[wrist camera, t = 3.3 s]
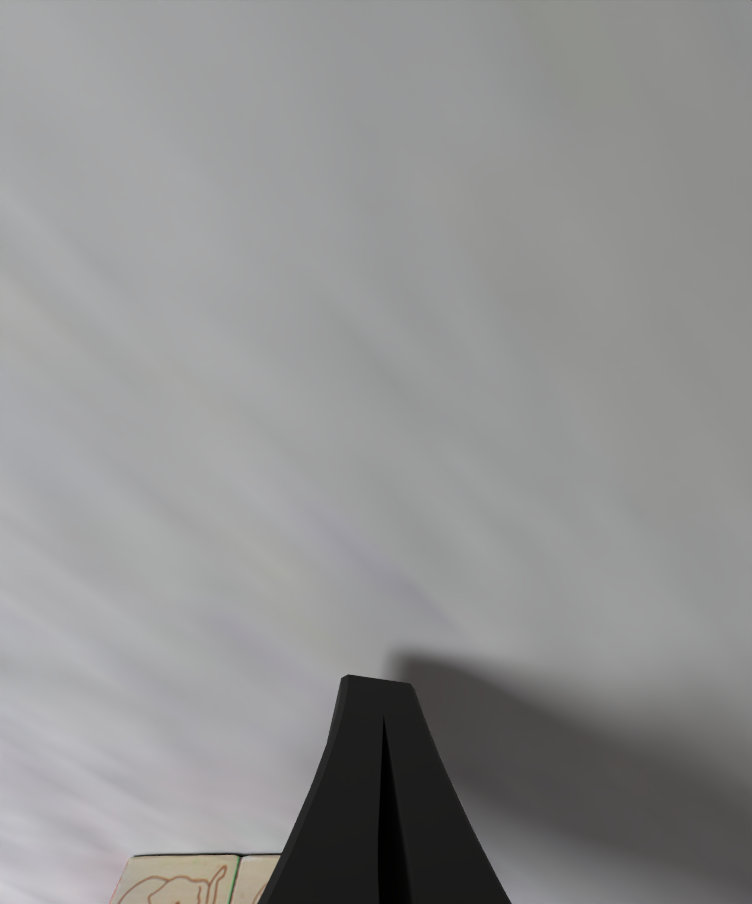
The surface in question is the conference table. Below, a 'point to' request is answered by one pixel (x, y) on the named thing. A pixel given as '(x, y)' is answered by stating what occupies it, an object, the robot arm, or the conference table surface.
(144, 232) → the conference table surface
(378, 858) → the robot arm
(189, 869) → the stack of blocks
